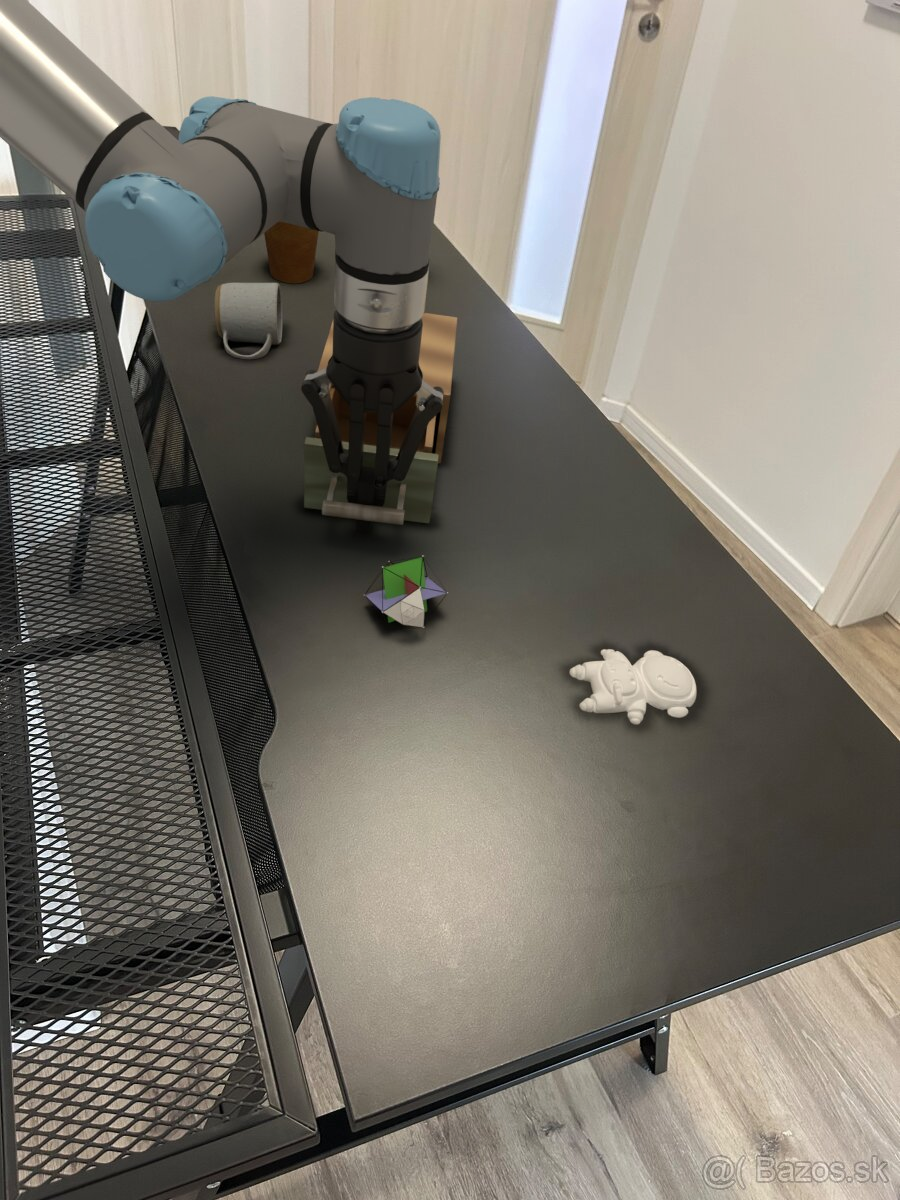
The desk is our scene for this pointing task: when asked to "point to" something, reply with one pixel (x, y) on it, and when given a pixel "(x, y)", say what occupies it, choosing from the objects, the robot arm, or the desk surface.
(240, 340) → the ceramic mug
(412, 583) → the geometric puzzle
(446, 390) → the cabinet
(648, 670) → the astronaut figurine
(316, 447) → the drawer
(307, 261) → the disposable coffee cup
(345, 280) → the robot arm
